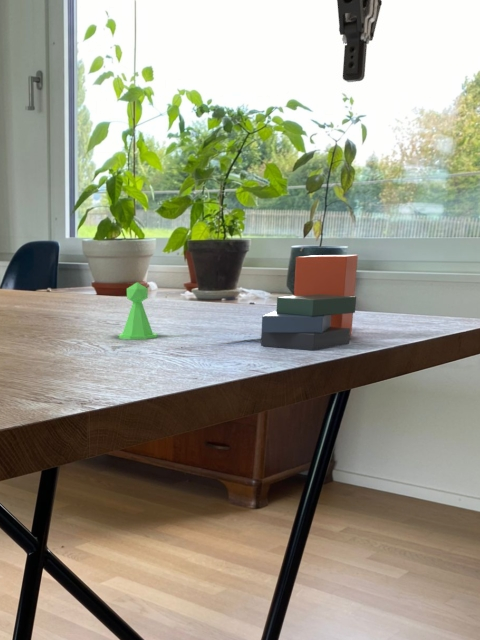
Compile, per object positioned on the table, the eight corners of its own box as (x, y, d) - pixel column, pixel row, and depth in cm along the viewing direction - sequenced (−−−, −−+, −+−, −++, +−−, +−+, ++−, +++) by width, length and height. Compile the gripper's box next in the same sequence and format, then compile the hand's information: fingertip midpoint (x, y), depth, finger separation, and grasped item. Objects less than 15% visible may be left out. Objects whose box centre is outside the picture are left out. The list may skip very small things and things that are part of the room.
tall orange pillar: (304, 333, 90) (309, 255, 87) (351, 334, 88) (358, 254, 85) (291, 338, 86) (296, 257, 83) (340, 340, 83) (347, 256, 81)
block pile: (291, 338, 86) (293, 293, 84) (360, 343, 80) (364, 295, 79) (241, 346, 81) (243, 298, 79) (311, 353, 75) (314, 301, 74)
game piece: (165, 342, 86) (165, 281, 84) (126, 345, 85) (126, 283, 82) (148, 338, 90) (148, 280, 88) (111, 341, 88) (110, 282, 86)
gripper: (390, -124, 85) (374, 68, 91) (411, -85, 95) (396, 84, 101) (316, -108, 88) (306, 76, 94) (345, -72, 99) (334, 91, 105)
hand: (353, 80), depth 98 cm, fingers closed
